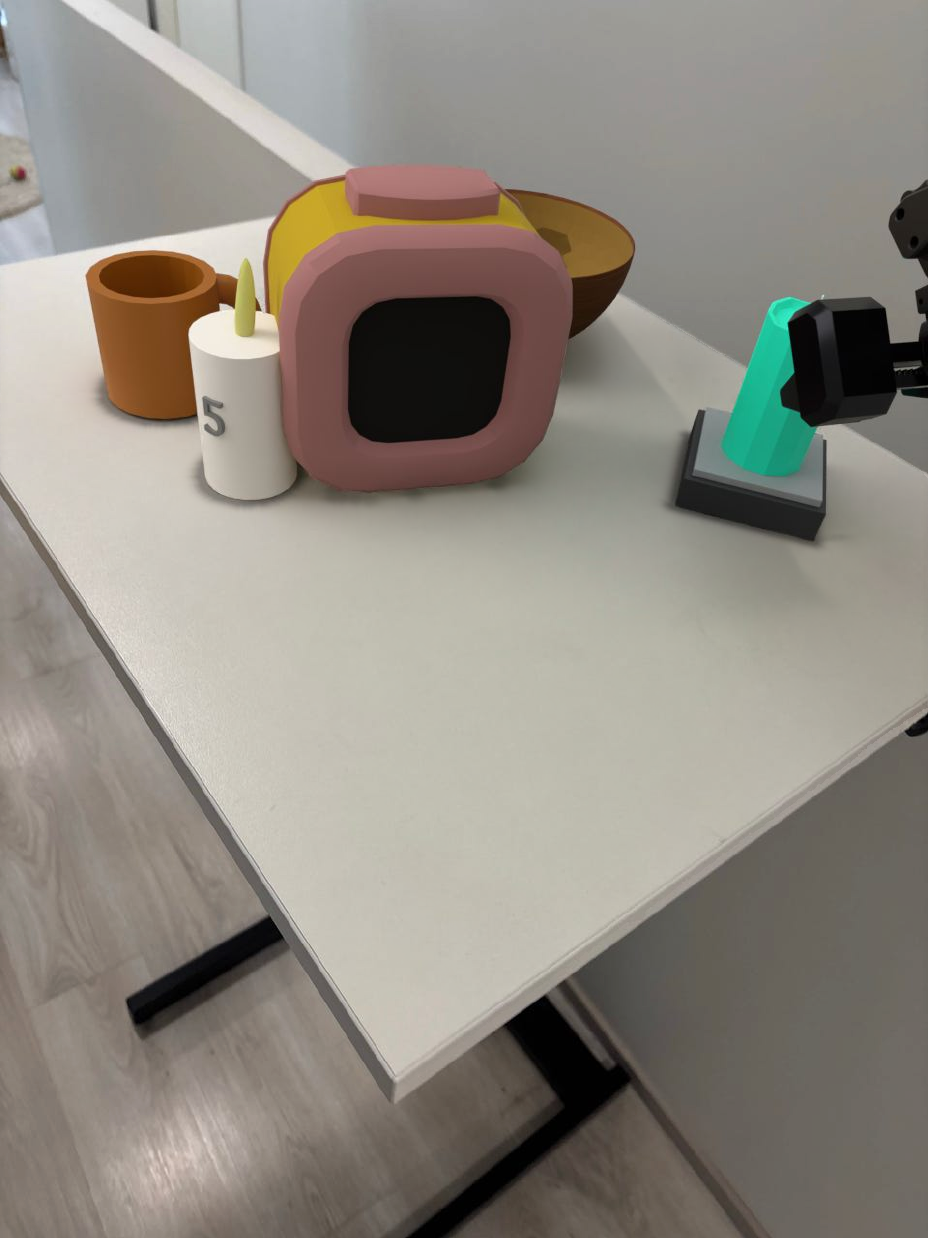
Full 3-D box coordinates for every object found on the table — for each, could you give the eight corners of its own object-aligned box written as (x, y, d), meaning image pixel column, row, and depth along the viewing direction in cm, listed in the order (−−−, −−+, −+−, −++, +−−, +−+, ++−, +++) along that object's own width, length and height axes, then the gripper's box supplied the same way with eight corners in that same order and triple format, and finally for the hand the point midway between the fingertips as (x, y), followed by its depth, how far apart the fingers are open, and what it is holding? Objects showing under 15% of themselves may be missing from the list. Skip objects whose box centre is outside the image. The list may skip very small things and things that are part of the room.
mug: (272, 417, 69) (267, 304, 63) (104, 423, 66) (80, 305, 60) (264, 357, 75) (258, 249, 69) (109, 360, 72) (89, 247, 66)
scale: (815, 466, 72) (830, 432, 70) (813, 541, 65) (830, 506, 63) (689, 435, 73) (700, 401, 71) (674, 505, 66) (686, 470, 64)
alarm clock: (289, 509, 61) (277, 216, 48) (268, 419, 69) (253, 143, 55) (546, 487, 66) (601, 214, 53) (501, 405, 74) (540, 147, 60)
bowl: (499, 417, 72) (518, 296, 65) (372, 322, 81) (376, 207, 74) (649, 363, 81) (680, 251, 74) (519, 283, 90) (535, 176, 83)
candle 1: (183, 479, 62) (153, 264, 52) (243, 436, 67) (227, 230, 56) (258, 513, 61) (243, 298, 50) (314, 467, 65) (312, 259, 55)
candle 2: (805, 483, 64) (876, 324, 56) (721, 467, 65) (779, 306, 56) (799, 438, 69) (864, 284, 60) (720, 423, 69) (774, 267, 61)
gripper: (1190, 137, 46) (943, 260, 61) (887, 135, 40) (698, 271, 55) (1219, 359, 46) (965, 427, 61) (921, 387, 41) (724, 454, 55)
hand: (844, 392), depth 58 cm, fingers open, 9 cm apart
